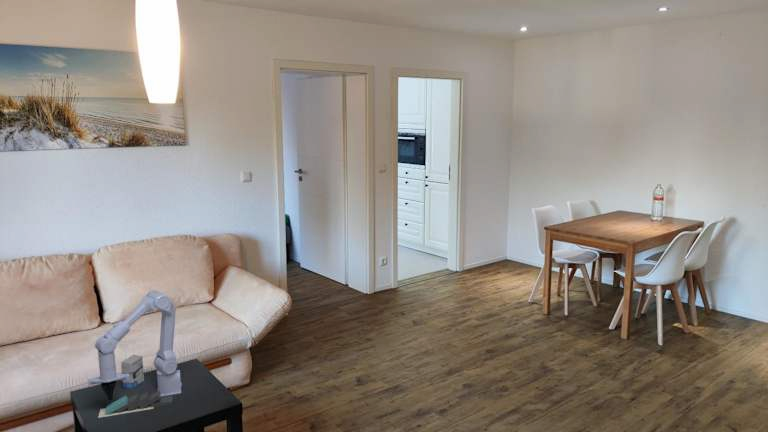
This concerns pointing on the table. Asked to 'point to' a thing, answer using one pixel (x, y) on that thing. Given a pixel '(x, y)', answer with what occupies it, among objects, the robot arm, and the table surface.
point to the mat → (103, 413)
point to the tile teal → (116, 405)
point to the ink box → (133, 371)
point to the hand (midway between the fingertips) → (110, 399)
